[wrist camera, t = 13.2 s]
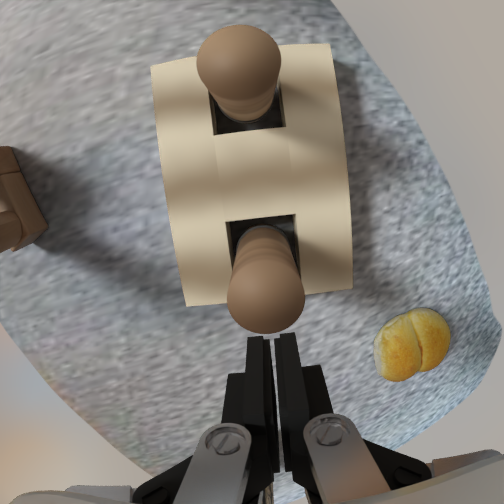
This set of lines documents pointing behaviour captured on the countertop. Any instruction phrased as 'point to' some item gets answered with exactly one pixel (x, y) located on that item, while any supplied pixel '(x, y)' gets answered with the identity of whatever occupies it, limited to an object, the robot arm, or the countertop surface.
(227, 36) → the seated peg
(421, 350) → the bread roll
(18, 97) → the countertop surface
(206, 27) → the countertop surface
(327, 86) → the socket board
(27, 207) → the brown wooden angled piece
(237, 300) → the walnut peg
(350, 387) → the countertop surface
